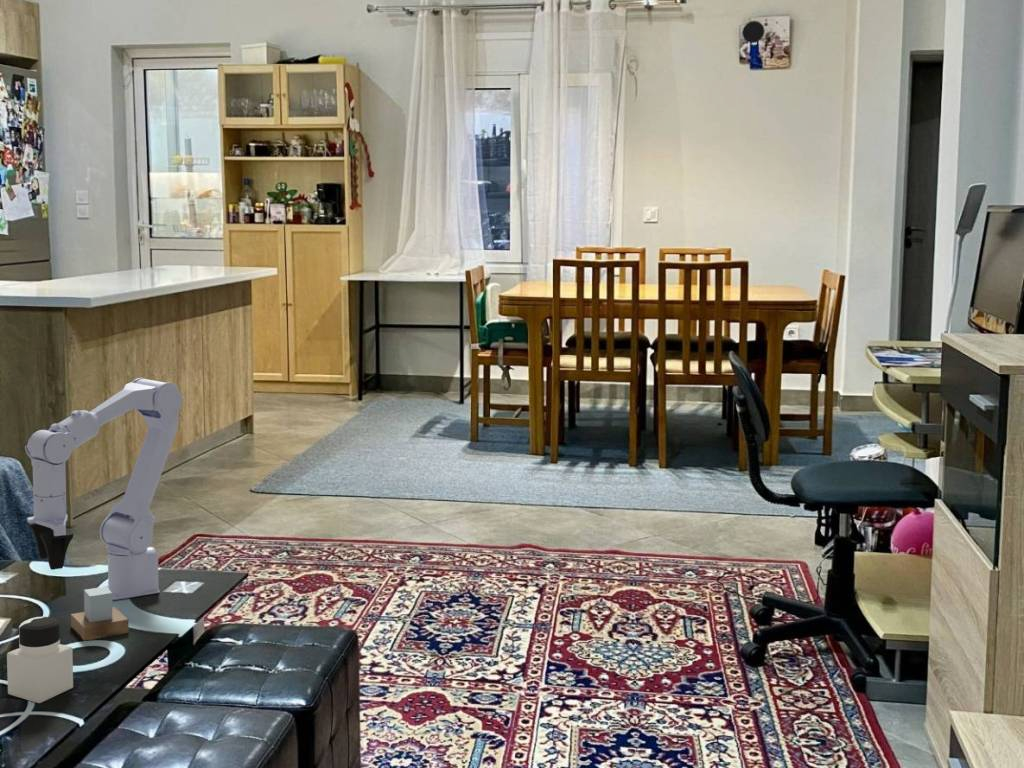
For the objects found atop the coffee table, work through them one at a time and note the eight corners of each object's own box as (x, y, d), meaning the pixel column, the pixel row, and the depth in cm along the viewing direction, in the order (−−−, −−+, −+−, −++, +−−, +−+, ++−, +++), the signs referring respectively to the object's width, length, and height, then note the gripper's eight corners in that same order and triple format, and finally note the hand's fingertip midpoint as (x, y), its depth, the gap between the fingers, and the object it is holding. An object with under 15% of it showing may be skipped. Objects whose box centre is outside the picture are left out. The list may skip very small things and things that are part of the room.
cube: (106, 611, 209) (106, 586, 209) (112, 618, 206) (112, 592, 206) (84, 615, 207) (84, 589, 206) (90, 622, 204) (89, 596, 203)
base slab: (114, 621, 213) (114, 606, 213) (128, 634, 207) (128, 619, 206) (71, 629, 208) (70, 614, 208) (84, 643, 202) (84, 627, 201)
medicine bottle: (74, 687, 182) (72, 618, 181) (39, 704, 176) (37, 632, 174) (42, 678, 185) (40, 610, 184) (6, 694, 179) (4, 623, 177)
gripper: (18, 487, 213) (20, 555, 216) (36, 505, 202) (38, 577, 204) (56, 483, 218) (58, 550, 220) (77, 500, 206) (78, 571, 208)
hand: (51, 562), depth 212 cm, fingers open, 7 cm apart
